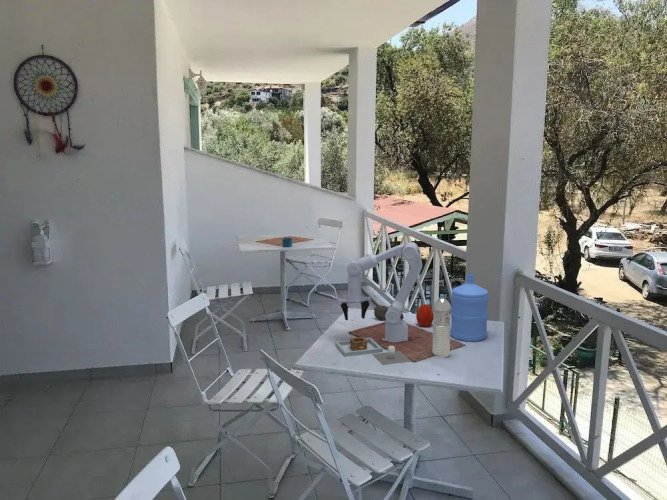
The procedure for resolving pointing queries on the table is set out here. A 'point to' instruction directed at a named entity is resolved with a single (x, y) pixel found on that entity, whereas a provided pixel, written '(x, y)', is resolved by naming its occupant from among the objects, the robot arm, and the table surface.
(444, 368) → the table surface
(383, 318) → the perforated stone tool
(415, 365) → the table surface
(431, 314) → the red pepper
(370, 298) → the robot arm
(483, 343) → the table surface
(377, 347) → the pale green tray
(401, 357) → the post board
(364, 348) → the walnut collar
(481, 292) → the water jug
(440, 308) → the water bottle
